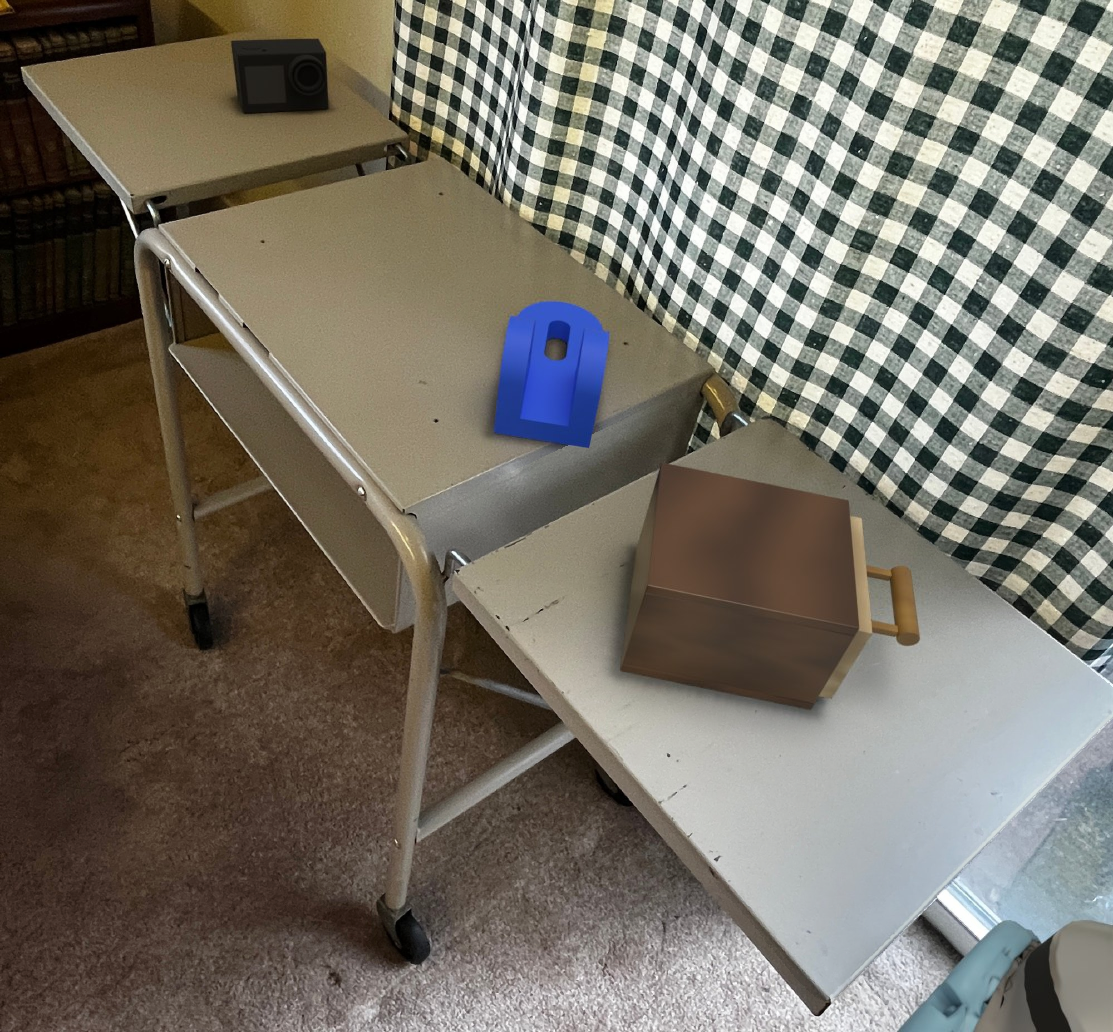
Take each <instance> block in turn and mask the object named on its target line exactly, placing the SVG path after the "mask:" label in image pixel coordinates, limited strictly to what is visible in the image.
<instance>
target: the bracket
mask: <svg viewBox="0 0 1113 1032" xmlns="http://www.w3.org/2000/svg"><path fill="white" fill-rule="evenodd" d="M551 339H559V340H562V341H564V342H565V343H566V345H567V346H566V347H567V348H566V354H565V357H564V358H563V359H559V360H555V359H551V358H549V357H547V356H546V355H545V354H546V353H545V352H546V347H547V346H546V345H547V342H548V341H549V340H551ZM609 342H610V331H606V330H604V329H603V326H602V324H601V322H600V320H599V319H598V318H597V317H596V316H595V315H594V314H593V313H592V312H590V311H589V310H587V309H586V308H584V307H581V306H579V305H576V304H573V303H569V302H564V301H557V300H556V301H555V300H549V301H540V302H535V303H533V304H530V305H528V306H526V307H524V308H523V309H522V310H520V312H519V313H518V314H517V315H510V316H509V319H508V324H507V328H506V334H505V339H504V345H503V350H502V358H501V363H500V364H501V365H500V371H499V372H500V373H499V379H498V390H497V398H496V408H495V417H494V427H493V434H498V435H505V436H511V437H517V438H522V439H529V440H534V441H535V440H536V441H542V442H549V443H554V444H560V445H566V446H574V447H580V448H586V449H590V448H591V447H590V445H591V441H592V438H593V437H592V436H593V432H594V428H595V423H596V422H595V421H596V417H597V412H598V408H599V403H600V398H601V393H602V388H603V383H604V376H605V370H606V365H607V359H608V351H609Z"/></svg>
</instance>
